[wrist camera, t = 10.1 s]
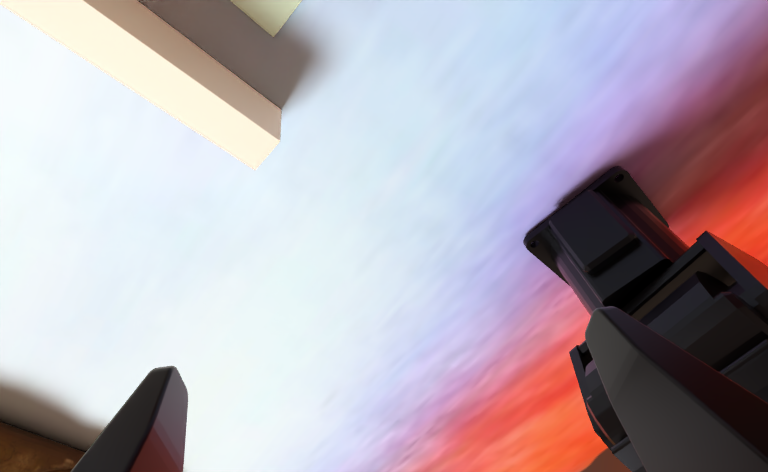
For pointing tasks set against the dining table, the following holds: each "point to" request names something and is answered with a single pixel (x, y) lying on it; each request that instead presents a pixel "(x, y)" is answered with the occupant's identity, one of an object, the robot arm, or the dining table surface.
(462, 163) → the dining table surface
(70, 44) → the arena
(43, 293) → the dining table surface
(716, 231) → the dining table surface
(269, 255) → the dining table surface
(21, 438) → the bread
